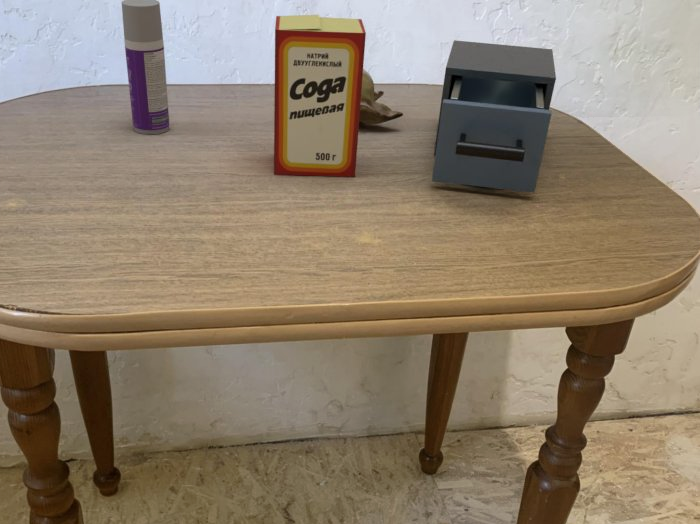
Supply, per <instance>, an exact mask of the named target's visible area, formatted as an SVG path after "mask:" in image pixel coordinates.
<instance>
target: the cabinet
mask: <svg viewBox="0 0 700 524" xmlns="http://www.w3.org/2000/svg"><path fill="white" fill-rule="evenodd" d="M456 75H459V76H469V77H479V78H489V79H500V80H510V81H520V82H530V83H540V84H542V89H543V102H544V110H550V108H551V103H552V98H553V95H554V94H553V93H554V89H555V85H556V80H557V75H556V66H555V60H554V52H553V49H552V48H544V47H543V48H542V47H532V46H520V45H510V44H509V45H508V44H498V43H489V42H476V41H467V40H465V41H464V40H455V39H454V40H453V42H452V45H451V49H450V53H449V55H448V59H447V62H446V65H445V71H444V78H443V84H442V85H443V86H442V94H441V99H440V101H441V102H440V108H439V115H438V122H437V123H438V124H437V129H436V137H435V143H434V152H433V156H434V157H435V155H436V147H437V140H438V133H439V126H440V119H441V111H442V104H443V100H444V99H447V100H451V95H452V91H453V87H454V83H455V79H456Z"/></svg>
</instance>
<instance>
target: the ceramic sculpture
mask: <svg viewBox="0 0 700 524" xmlns="http://www.w3.org/2000/svg"><path fill="white" fill-rule="evenodd" d="M384 94H385V92H384V91H382V90H378V91H375V83H374V80H373V77H372V76H371V75H370V73H369V72H368V71H367V70H366V69H365V68H363V77H362V90H361V104H360V117H359V122H361V123H363V124H369V125H378V124H379V125H380V124H383V123H387V122H390V121H393V120H395V119H399V118H401V117H403V116H404V113H403V112H400V111H395V110H392V109H391V108H390V107H389V106H387V105H386V104H384V103H380V102H377V100H379V99H381V97H383V96H384Z"/></svg>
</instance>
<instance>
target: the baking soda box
mask: <svg viewBox="0 0 700 524" xmlns="http://www.w3.org/2000/svg"><path fill="white" fill-rule="evenodd" d="M366 36H367V32H366V29H365V26H364V23H363V20H362V18H347V17H345V18H344V17H326V16H323V17H322V16H320V14H301V15H300V14H297V15H276V16H275V26H274V110H273V114H274V115H273V116H274V121H273V123H274V124H273V132H274V133H273V175H274V176H275V175H280V176H282V175H283V176H313V177H342V178H343V177H346V178H347V177H348V178H355V177H356V169H357V155H358V142H359V128H360V121H359V117H360V104H361V90H362V77H363V69H364V61H365V50H366Z"/></svg>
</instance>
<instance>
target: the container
mask: <svg viewBox="0 0 700 524" xmlns="http://www.w3.org/2000/svg"><path fill="white" fill-rule="evenodd" d="M121 13H122V14H121V15H122V25H123V41H124V51H125V60H126V61H125V62H126V71H127V81H128V90H129V100H130V111H131V121H132V127H133V128H132V129H133V130H134V132H136V133H137V134H142V135H160V134H163V133H166V132H168V131H169V130H170V114H169V100H168V86H167V85H168V84H167V71H166V57H165V44H164V33H163V25H162V24H163V23H162V14H161V4H160V1H158V0H122V1H121Z"/></svg>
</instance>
